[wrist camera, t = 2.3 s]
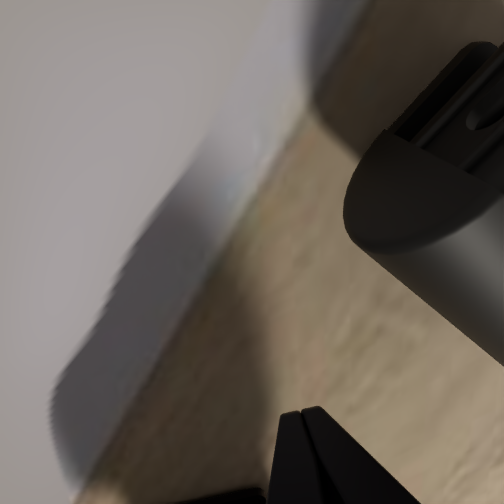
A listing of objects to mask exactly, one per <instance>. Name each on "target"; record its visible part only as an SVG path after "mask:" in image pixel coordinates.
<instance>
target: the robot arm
mask: <svg viewBox="0 0 504 504" xmlns="http://www.w3.org/2000/svg"><path fill="white" fill-rule="evenodd" d="M188 504H421V503H420V502H419V501H418V500H417V499H416V498H415V497H414V496H413V495H412V494H410V493H409V492H408V491H407V490H406V489H405V488H404V487H403V486H402V485H401V484H400V483H399V482H398V481H397V480H396V479H395V478H394V477H393V476H392V475H391V474H390V473H389V472H388V471H387V470H386V469H385V468H384V467H383V466H382V465H381V464H380V463H379V462H378V461H377V460H375V459H374V458H373V457H372V456H371V455H370V454H369V453H368V452H367V451H366V450H365V449H364V448H363V447H362V446H361V445H360V444H359V443H358V442H357V441H356V440H355V439H354V438H353V437H352V436H351V435H350V434H349V433H348V432H347V431H346V430H345V429H344V428H343V427H342V426H340V425H339V424H338V423H337V422H336V421H335V420H334V419H333V418H332V417H331V416H330V415H329V414H328V413H327V412H326V411H325V410H324V409H323V408H322V407H320V406H314V407H310V408H305V409H303V410H302V411H301V413H300V411H292V412H288V413H283V414H282V415H281V416H280V420H279V426H278V432H277V439H276V445H275V451H274V457H273V464H272V470H271V476H270V482H269V489H268V495H267V500H266V496H265V492H264V490H263V489H261V488H251V489H247V490H242V491H238V492H234V493H230V494H226V495H221V496H217V497H213V498H209V499H204V500H200V501H196V502H192V503H188Z"/></svg>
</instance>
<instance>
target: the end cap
mask: <svg viewBox="0 0 504 504" xmlns="http://www.w3.org/2000/svg"><path fill="white" fill-rule="evenodd" d="M343 219H344V225H345V229H346V231H347V233H348V235H349V237H350V238H351V240H352V241H353V242H354V243H355V244H356V245H357V246H358V247H359V248H361V249H362V250H363V251H364V252H365V253H367V254H368V255H369V256H370V257H371V258H373V259H374V260H375V261H376V262H377V263H379V264H380V265H381V266H382V267H384V268H385V269H386V270H387V271H388V272H390V273H391V274H392V275H393V276H394V277H396V278H397V279H398V280H399V281H401V282H402V283H403V284H404V285H405V286H407V287H408V288H409V289H410V290H411V291H413V292H414V293H415V294H416V295H418V296H419V297H420V298H421V299H422V300H424V301H425V302H426V303H427V304H428V305H430V306H431V307H432V308H433V309H435V310H436V311H437V312H438V313H439V314H441V315H442V316H443V317H444V318H445V319H447V320H448V321H449V322H450V323H452V324H453V325H454V326H455V327H456V328H458V329H459V330H460V331H461V332H462V333H464V334H465V335H466V336H467V337H469V338H470V339H471V340H472V341H473V342H475V343H476V344H477V345H478V346H479V347H481V348H482V349H483V350H484V351H485V352H487V353H488V354H489V355H490V356H492V357H493V358H494V359H495V360H496V361H498V362H499V363H500V364H501V365H502V366H504V42H503V43H502V44H501V45H500V47H499V48H498V47H497V46H495V45H493V44H492V43H490V42H472V43H470V44H469V45H467V46H466V47H464V48H463V49H462V50H461V51H460V52H459V53H458V54H457V55H456V56H455V57H454V58H453V59H452V60H451V61H450V63H449V64H448V65H447V66H446V67H445V68H444V69H443V70H442V71H441V72H440V73H439V74H438V76H437V77H436V78H435V79H434V80H433V81H432V82H431V83H430V84H429V85H428V86H427V88H426V89H425V90H424V91H423V92H422V93H421V94H420V95H419V96H418V97H417V98H416V99H415V101H414V102H413V103H412V104H411V105H410V106H409V107H408V108H407V109H406V110H405V111H404V112H403V114H402V115H401V116H400V117H399V118H398V119H397V120H396V121H395V122H394V123H393V124H392V125H391V127H390V128H389V129H388V130H385V129H384V130H383V131H382V133H381V134H380V135H379V136H378V137H377V139H376V140H375V141H374V142H373V143H372V145H371V146H370V147H369V149H368V150H367V152H366V153H365V155H364V156H363V157H362V159H361V161H360V162H359V164H358V166H357V168H356V169H355V171H354V173H353V175H352V178H351V180H350V182H349V185H348V187H347V191H346V195H345V199H344V206H343Z"/></svg>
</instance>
